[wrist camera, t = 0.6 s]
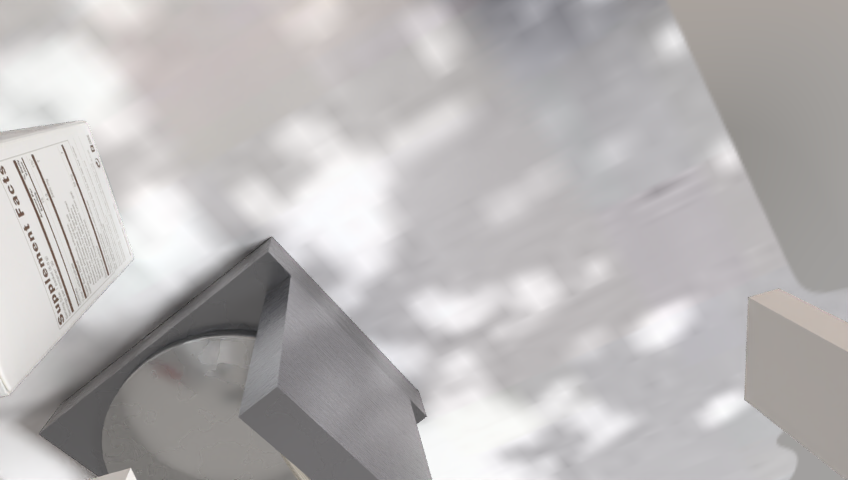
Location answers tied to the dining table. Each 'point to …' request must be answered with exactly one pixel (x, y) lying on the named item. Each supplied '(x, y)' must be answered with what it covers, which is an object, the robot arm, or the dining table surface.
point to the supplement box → (52, 240)
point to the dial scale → (249, 391)
